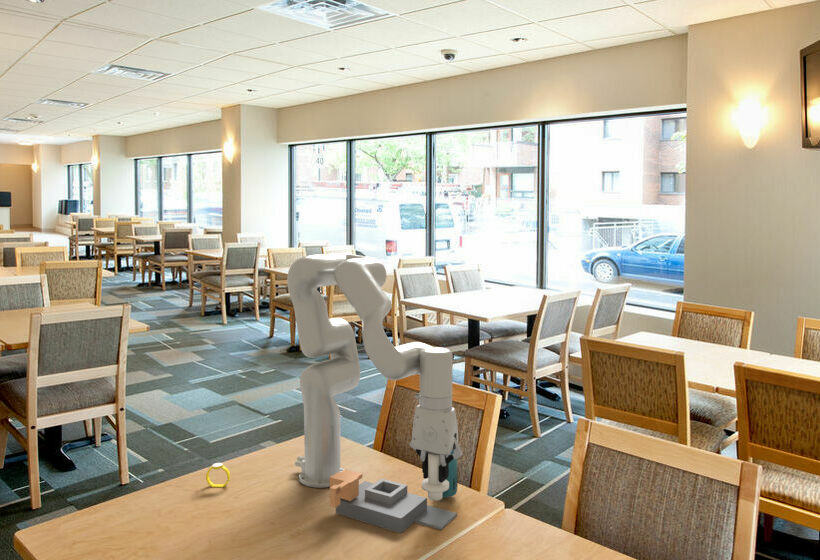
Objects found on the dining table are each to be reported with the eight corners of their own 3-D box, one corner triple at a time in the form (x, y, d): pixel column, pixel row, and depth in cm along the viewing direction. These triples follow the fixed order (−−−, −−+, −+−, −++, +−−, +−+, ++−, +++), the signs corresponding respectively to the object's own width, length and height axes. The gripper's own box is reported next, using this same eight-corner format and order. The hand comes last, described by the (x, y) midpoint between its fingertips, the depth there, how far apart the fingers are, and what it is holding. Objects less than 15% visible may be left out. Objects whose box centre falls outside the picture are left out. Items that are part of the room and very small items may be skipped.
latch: (315, 504, 147) (315, 483, 147) (343, 486, 157) (343, 466, 156) (336, 510, 144) (336, 489, 144) (363, 492, 154) (364, 472, 153)
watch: (205, 489, 164) (203, 467, 163) (209, 485, 167) (207, 463, 166) (228, 488, 164) (226, 466, 163) (232, 483, 167) (229, 461, 166)
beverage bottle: (455, 504, 156) (457, 425, 154) (429, 501, 158) (430, 423, 155) (459, 493, 163) (460, 417, 160) (433, 490, 164) (434, 415, 162)
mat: (410, 521, 148) (410, 518, 148) (427, 507, 155) (427, 505, 155) (441, 530, 144) (441, 527, 144) (456, 515, 151) (456, 513, 151)
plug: (416, 499, 147) (416, 450, 146) (429, 489, 153) (429, 441, 152) (441, 505, 144) (441, 455, 143) (453, 495, 150) (454, 446, 148)
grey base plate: (336, 513, 151) (336, 491, 151) (364, 494, 161) (364, 473, 161) (400, 533, 142) (401, 509, 142) (426, 511, 152) (427, 489, 152)
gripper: (396, 400, 147) (396, 476, 149) (461, 411, 139) (460, 492, 141) (412, 392, 153) (412, 466, 155) (475, 402, 145) (474, 480, 147)
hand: (435, 477), depth 148 cm, fingers closed on plug, 3 cm apart
